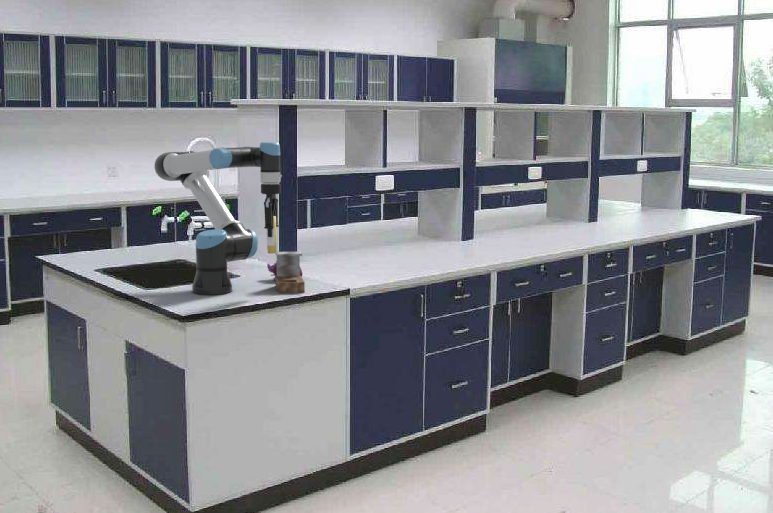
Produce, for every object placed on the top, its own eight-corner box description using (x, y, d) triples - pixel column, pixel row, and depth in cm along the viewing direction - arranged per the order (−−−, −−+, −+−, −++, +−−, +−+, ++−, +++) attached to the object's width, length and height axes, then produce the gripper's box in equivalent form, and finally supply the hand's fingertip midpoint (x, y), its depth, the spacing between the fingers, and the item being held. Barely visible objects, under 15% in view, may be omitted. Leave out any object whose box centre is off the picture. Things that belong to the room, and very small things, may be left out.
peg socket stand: (278, 293, 324) (278, 257, 321) (275, 285, 337) (275, 251, 335) (304, 292, 326) (304, 257, 324) (300, 285, 339) (300, 251, 337)
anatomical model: (302, 275, 357) (267, 270, 356) (305, 256, 353) (270, 250, 352) (299, 288, 346) (263, 282, 346) (302, 268, 343) (266, 262, 342)
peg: (266, 253, 320) (265, 216, 318) (268, 252, 323) (268, 215, 321) (275, 253, 320) (274, 216, 317) (277, 252, 323) (276, 216, 321)
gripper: (275, 184, 309) (276, 248, 312) (285, 181, 325) (286, 241, 329) (255, 184, 310) (256, 247, 313) (266, 181, 326) (267, 241, 329)
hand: (271, 244), depth 321 cm, fingers closed on peg, 3 cm apart
